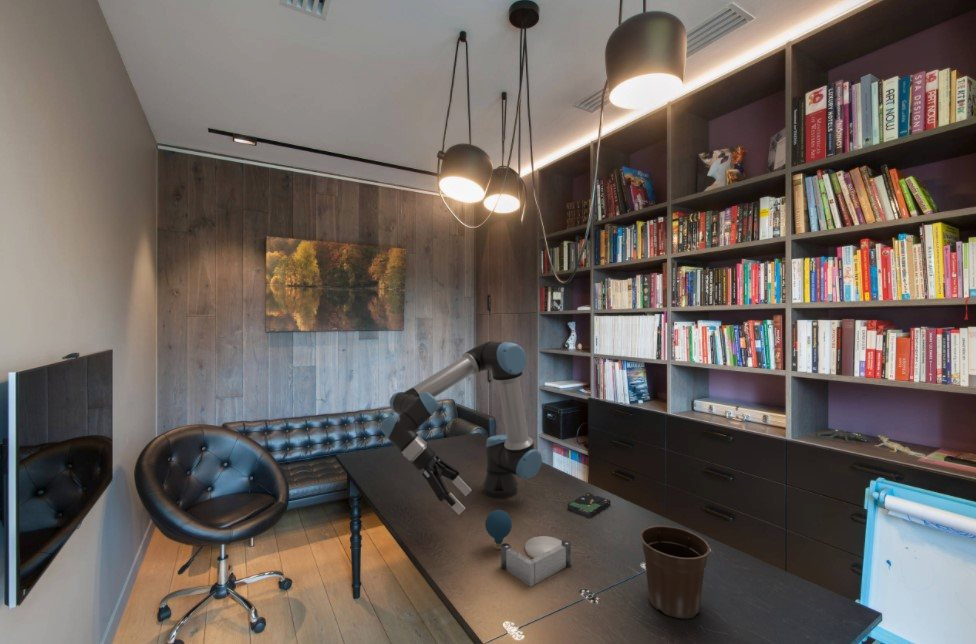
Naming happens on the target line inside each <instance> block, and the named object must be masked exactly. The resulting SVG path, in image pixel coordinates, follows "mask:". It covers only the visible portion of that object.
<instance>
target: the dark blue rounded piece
mask: <svg viewBox="0 0 976 644" xmlns="http://www.w3.org/2000/svg"><path fill="white" fill-rule="evenodd" d="M486 516H487V517H486V518H485V524H484V525H485V530H486V532H487V534H488V535H489V536H490V537H491V538H493V539H494V543H495V549H497V550H501V544H503V540H504V539H505V538H506V537H507V536H508V535H509V534H510V533H511V530H512V525H513V523H512V519H511V516H510V514H508V512H507V511H504V510H502V509H496V510H495V509H494V510H492V511H491V512H490V513H489V514H488V515H486Z"/></svg>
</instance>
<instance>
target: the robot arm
mask: <svg viewBox="0 0 976 644" xmlns="http://www.w3.org/2000/svg"><path fill="white" fill-rule="evenodd" d="M526 355H527V354H526V352H525V350H524V349H523V347H521V346H520V345H519V344H517V343H514V342H510V341H491V340H490V341H486V342H481V344H479V345H476V346H474V347H473V348H471V349H469V350H467V351H466V352H464V353H463V354H462V355H461V358H459V359H457V360H456V361H453V362H452V363H450V364H449V365H447V366H446V367H444V368H442V369H440V370H439V371H437V372H436V373H434V374H432V375H430V376H429V377H428V378H426V379H424V380H422V381H420V382H419V383H417V384H415V385H414V386H412V387H411V388H409V389H407V390H406V391H404V392H403V391H399V392H397V391H396V393H394V394H392V396H391V397H390V399H389V408H390V409H391V410H392V411H393V412H392V413H391V414H390V415H388V417H386V418H385V420H383V421H382V422H381V424H380V425H379V430H381V432H382V434H384V436H386V439H388V440H389V441H390V443H392V444H393V445H394V446H395V447H396V449H398V450H399V451H400V453H401V454H402V456H403V458H406V459H407V460H408V461H409V462H411V464H412V465H413V466H414V467H415V469H416V470H417V471H421V470H423V469H424V472H423V473H422V474H421V475H422V477H423V478H424V479H425V480H426V481H427V483H428V485H429V486H430V488H431V490H432V491H433V493H434V494H435V497H437V499H438V500H439V501H440V502H442V501H445V502H446V503H447V504H448V506H449V507H450V508H452V510H453V511H454V512H456V514H457V515H458V516H459V515H461V514H462V512H464V511H465V510H466V507H465V506H464V505H463V504H462V503H461V502H460V500H458V498H456V496H455V495H454V494H453V493H452V492H449V491H448V488H447V486H446V483H445V481H443V478H442V476H443V477H445V478H447V479H449V480H451V482H452V484H453V485H454V486H455V487H456V488H457V489H458V490H459V491H460V492H461V493H462V494H463V495H464V496H465V497H467V495H469V494H470V493H471V492H472V489H471V487H470V486H468V484H467V483H466V482H465V481H464V480H463V479H462V478H461V477H460V476H459V475H460V472H459V471H458V470H457V469H456V468H454V467H453V466H452V465H451V464H448V463H447V462H446V461H444V460H443V459H442V458H441V457H440V456H439V455H436V451H434V450H433V448H432V447H430V446H429V445H428V443H427V442H426V441H425V439H423V437H421V436H420V434H418V432H417V430H418V429H419V428H420V427H421V426H422V425H424V424H425V423H426V422H427V421H428V420H429V419H430V418H431V417H432V416H433V415H434V413H435V412H436V411H437V410H438V409H439V405H440V404H439V402H438V401H437V399H436V397H437V396H440V395H441V394H443V392H446V390H448V389H449V390H450V388H452V387H453V386H455V385H457V384H458V383H460V382H461V381H463V380H465V379H466V378H468V377H469V376H471V375H473V376H474V375H477V374H478V373H481V372H484V371H491V374H492V380H494V381H495V382H496V383H497V385H498V386H497V387H498V392H499V399H500V406H501V410H502V416H503V418H502V419H503V423H504V429H505V434H498V435H492V436H490V437H488V438H487V439H486V444H485V445H486V446H485V454H486V455H485V457H486V458H485V459H486V460H485V461H486V464H485V465H486V469H485V470H486V471H485V472H486V473H485V477H484V480H483V482H482V488H481V489H482V493H483V494H484V495H486V496H488V497H491V498H497V499H498V498H499V499H501V498H503V499H504V498H509V497H514V496H516V494H518V492H519V485H518V482H517V478H516V477H519V478H521V479H522V478H523V479H529V480H530V479H531V478H533V477H534V476H536V475H537V474H538V473H539V471H540V469H541V466H542V464H543V463H542V462H543V457H542V454H541V452H540V451H539V450H538V449H535V445H534V444H535V443H534V440H533V438H532V437H530V436H529V431H528V424H527V420H526V419H527V418H526V411H525V407H524V406H525V405H524V401H523V400H524V398H523V393H522V392H523V391H522V387H521V381H520V379H521V377H523V371H524V370H525V368H526V367H525V366H526V364H527V356H526ZM427 445H428V446H427Z"/></svg>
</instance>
